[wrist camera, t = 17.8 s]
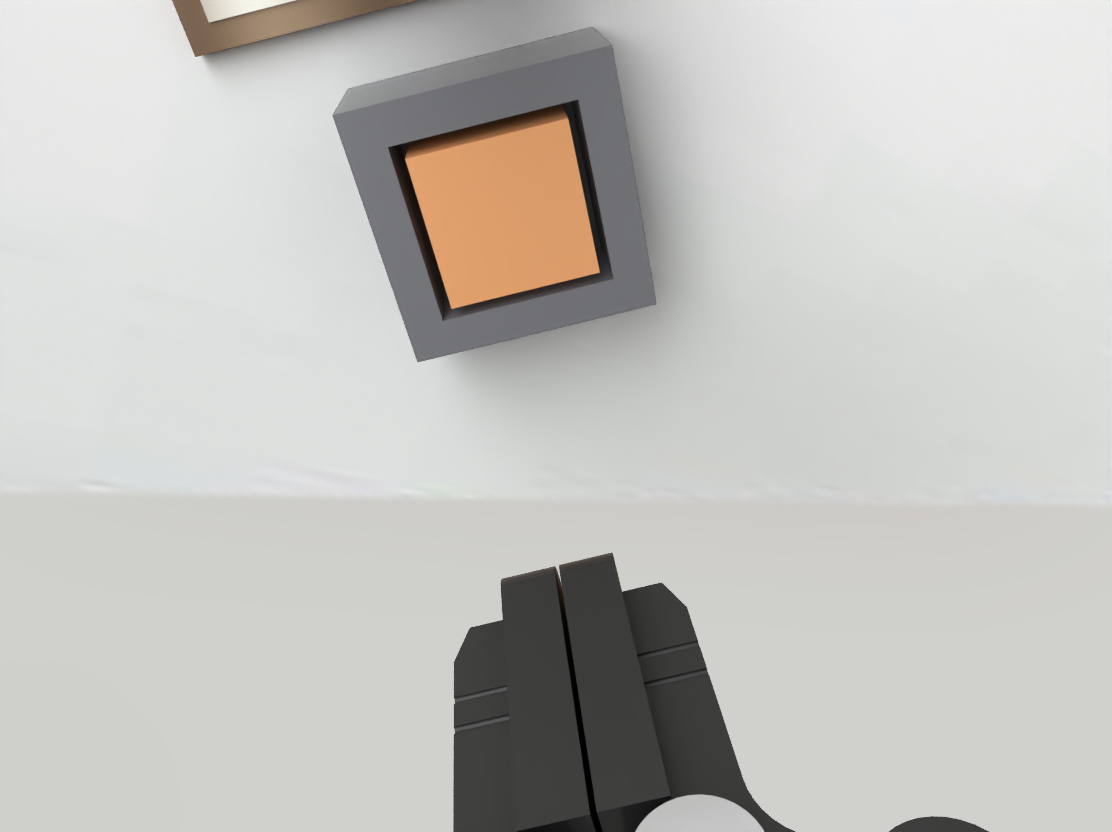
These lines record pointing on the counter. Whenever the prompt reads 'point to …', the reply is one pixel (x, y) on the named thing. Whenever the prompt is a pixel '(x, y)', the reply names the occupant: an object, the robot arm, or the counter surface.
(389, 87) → the button housing
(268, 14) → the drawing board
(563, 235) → the button
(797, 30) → the counter surface
